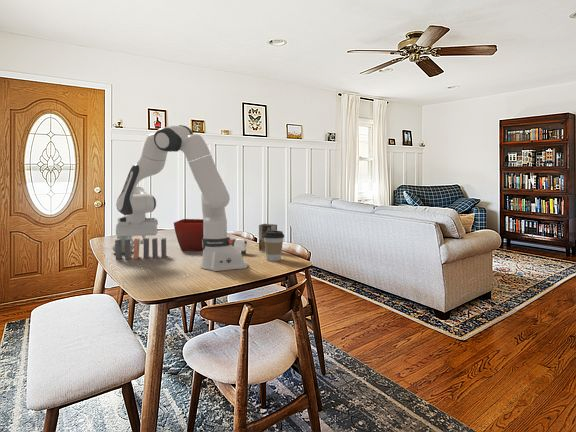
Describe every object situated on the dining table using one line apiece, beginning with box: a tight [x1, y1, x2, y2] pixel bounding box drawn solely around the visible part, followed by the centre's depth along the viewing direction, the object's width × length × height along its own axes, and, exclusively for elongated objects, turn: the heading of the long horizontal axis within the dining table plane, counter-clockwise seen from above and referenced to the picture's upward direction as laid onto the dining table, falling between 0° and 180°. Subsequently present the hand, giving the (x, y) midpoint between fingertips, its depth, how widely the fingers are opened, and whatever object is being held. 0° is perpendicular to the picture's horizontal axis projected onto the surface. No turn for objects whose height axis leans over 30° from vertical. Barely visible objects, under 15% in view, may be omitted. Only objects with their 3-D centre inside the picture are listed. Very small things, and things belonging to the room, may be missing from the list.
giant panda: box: [227, 236, 248, 256], centre depth 204 cm, size 15×6×10 cm, turn 82°
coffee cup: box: [263, 230, 285, 262], centre depth 189 cm, size 11×11×15 cm
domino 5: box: [151, 237, 159, 259], centre depth 192 cm, size 2×5×10 cm, turn 13°
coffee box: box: [258, 223, 278, 253], centre depth 210 cm, size 9×6×16 cm
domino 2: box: [124, 239, 132, 260], centre depth 189 cm, size 2×5×10 cm, turn 14°
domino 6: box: [160, 237, 167, 259], centre depth 193 cm, size 2×5×10 cm, turn 13°
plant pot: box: [173, 218, 204, 251], centre depth 217 cm, size 19×19×17 cm
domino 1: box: [114, 238, 123, 260], centre depth 188 cm, size 2×5×10 cm, turn 13°
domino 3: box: [132, 237, 141, 260], centre depth 190 cm, size 2×5×10 cm, turn 14°
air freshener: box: [112, 235, 134, 255], centre depth 202 cm, size 11×8×10 cm
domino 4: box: [143, 237, 150, 259], centre depth 191 cm, size 2×5×10 cm, turn 13°
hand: (137, 244), depth 190 cm, fingers open, 3 cm apart
